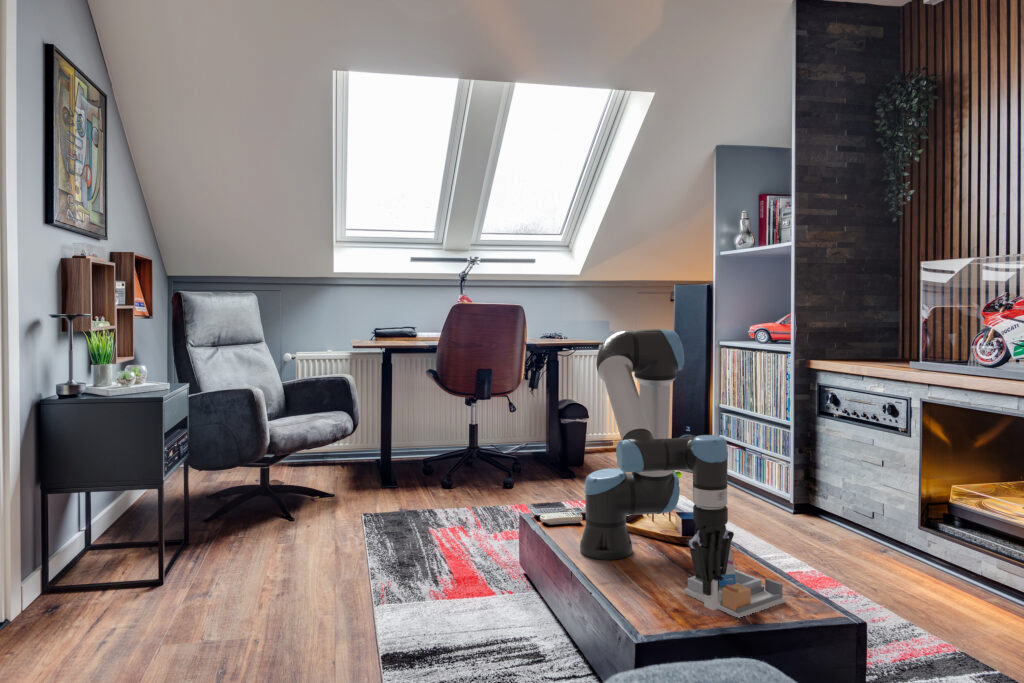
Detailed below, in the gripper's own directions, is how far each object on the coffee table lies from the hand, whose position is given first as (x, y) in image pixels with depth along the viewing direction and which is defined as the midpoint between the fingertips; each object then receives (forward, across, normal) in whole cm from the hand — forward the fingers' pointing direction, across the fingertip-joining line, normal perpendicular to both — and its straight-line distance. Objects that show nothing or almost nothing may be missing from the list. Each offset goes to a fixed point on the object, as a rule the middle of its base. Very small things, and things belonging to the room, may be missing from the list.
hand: (711, 607), depth 163 cm
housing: (+3, +14, +6) cm, 16 cm away
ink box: (+1, +14, +8) cm, 16 cm away
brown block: (+2, +9, 0) cm, 9 cm away
